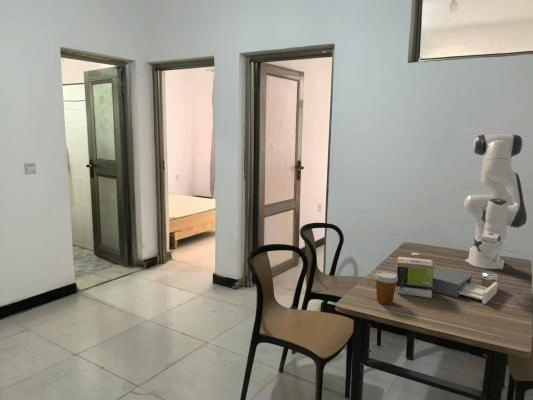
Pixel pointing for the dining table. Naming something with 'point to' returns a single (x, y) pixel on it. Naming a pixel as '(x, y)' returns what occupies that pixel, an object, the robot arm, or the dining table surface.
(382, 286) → the disposable coffee cup
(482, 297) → the cream drawer
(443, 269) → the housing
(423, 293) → the tea box
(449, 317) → the dining table surface
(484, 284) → the wooden block
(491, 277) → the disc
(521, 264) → the dining table surface
